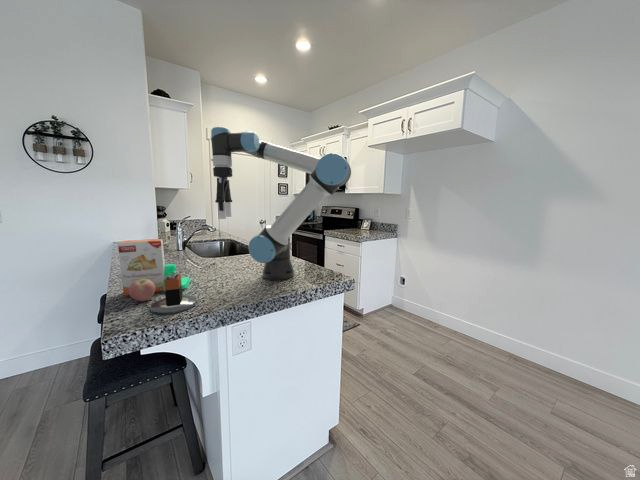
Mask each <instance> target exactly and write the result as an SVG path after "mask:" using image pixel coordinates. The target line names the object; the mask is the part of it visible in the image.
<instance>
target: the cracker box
mask: <svg viewBox="0 0 640 480" xmlns="http://www.w3.org/2000/svg"><path fill="white" fill-rule="evenodd" d="M117 245H118V246H117V247H118V257H119V266H120V274H121V275H120V276H121V284H122V293H123V296H124V297H126V296H130V294H129V287H130V285H131V284H132V283H133V282H134V281H136V280H139V279H149V280H151V281H152V282H153V283H154V285H155V292H154V293H161V292H165V291H164V288H163V286H164V271H165V265H166V263H165V253H164V242H163V238H159V239H158V238H156V239H134V240H133V239H131V240H121V241H119V242H118V243H117Z"/></svg>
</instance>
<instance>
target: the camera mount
mask: <svg viewBox="0 0 640 480" xmlns="http://www.w3.org/2000/svg"><path fill="white" fill-rule="evenodd" d="M171 273H176V274H177V265H176V263H171V264H166V263H165V271H164V280H165V278H166V277H167V276H168V275H171ZM190 282H191V279H190V277H189V276H186V277H185V276H184V277H183V276H182V277H181V283H182V290H184V289H187V288H188V287H189V285H190ZM163 288H164V291H163V292H165V287H164V286H163Z"/></svg>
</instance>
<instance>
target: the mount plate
mask: <svg viewBox="0 0 640 480" xmlns="http://www.w3.org/2000/svg"><path fill="white" fill-rule="evenodd" d="M182 295H183V298H182V301H181V304H179V305H172V306H166V297H164V298H162V299H158V300H156V301H155V302H153V303H151V305H150V312H151V313H152V314H155V315H164V316H165V315H173V314H178V313H181V312H185V311H188V310H191V309H193V308H194V307H195V306H196V305H197V301H198V300H197V297H196V296H194V295H187V294H186V295H185V294H182Z"/></svg>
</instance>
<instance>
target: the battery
mask: <svg viewBox="0 0 640 480" xmlns="http://www.w3.org/2000/svg"><path fill="white" fill-rule="evenodd" d="M181 278H182V274H180V273H177V272H176V273H171V275H168V276H167V277H166V278H165V280H164V287H165V291H164V296H165V297H164V298H166V306H172V305H179V304H181V301H182V298H183V295H184V294H183V289H182V283H181Z"/></svg>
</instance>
